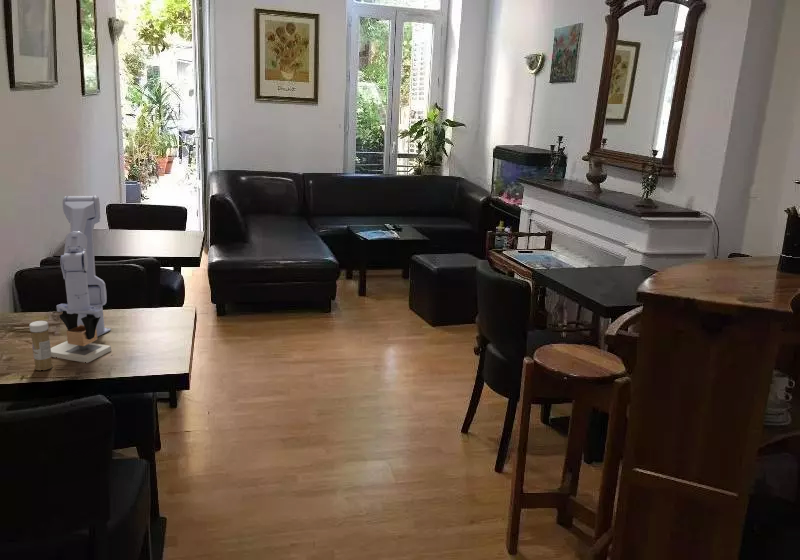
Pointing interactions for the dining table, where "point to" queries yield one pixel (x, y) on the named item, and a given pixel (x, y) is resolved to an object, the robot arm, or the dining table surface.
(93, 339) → the small wooden box
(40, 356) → the sprinkles bottle
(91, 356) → the post stand
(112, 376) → the dining table surface
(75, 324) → the robot arm
